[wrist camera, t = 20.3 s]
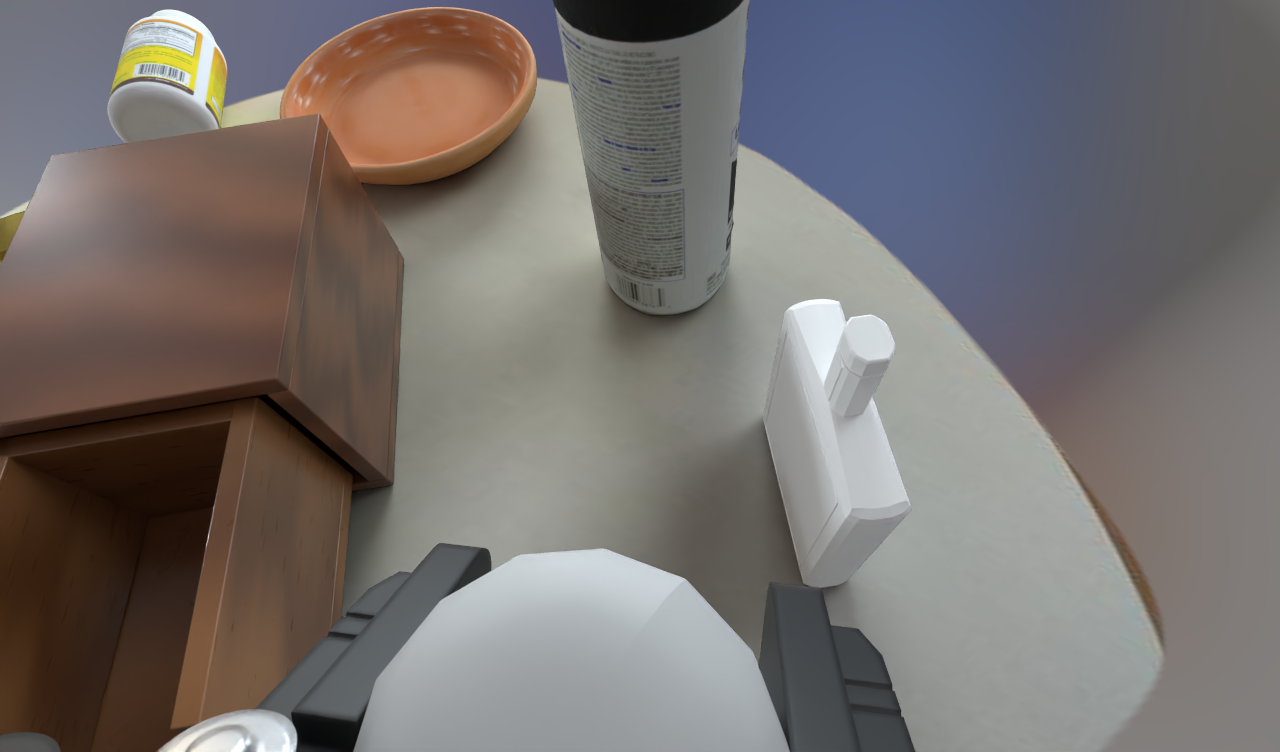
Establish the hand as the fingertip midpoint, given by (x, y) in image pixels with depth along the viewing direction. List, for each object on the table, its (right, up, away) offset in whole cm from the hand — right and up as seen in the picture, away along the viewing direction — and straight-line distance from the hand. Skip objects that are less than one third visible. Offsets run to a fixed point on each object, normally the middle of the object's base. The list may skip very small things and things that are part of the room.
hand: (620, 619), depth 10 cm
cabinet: (-18, +4, +23) cm, 29 cm away
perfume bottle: (+7, -1, +18) cm, 20 cm away
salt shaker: (0, -6, +7) cm, 9 cm away
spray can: (+2, +9, +25) cm, 27 cm away
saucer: (-14, +21, +33) cm, 41 cm away
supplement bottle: (-28, +18, +29) cm, 45 cm away
